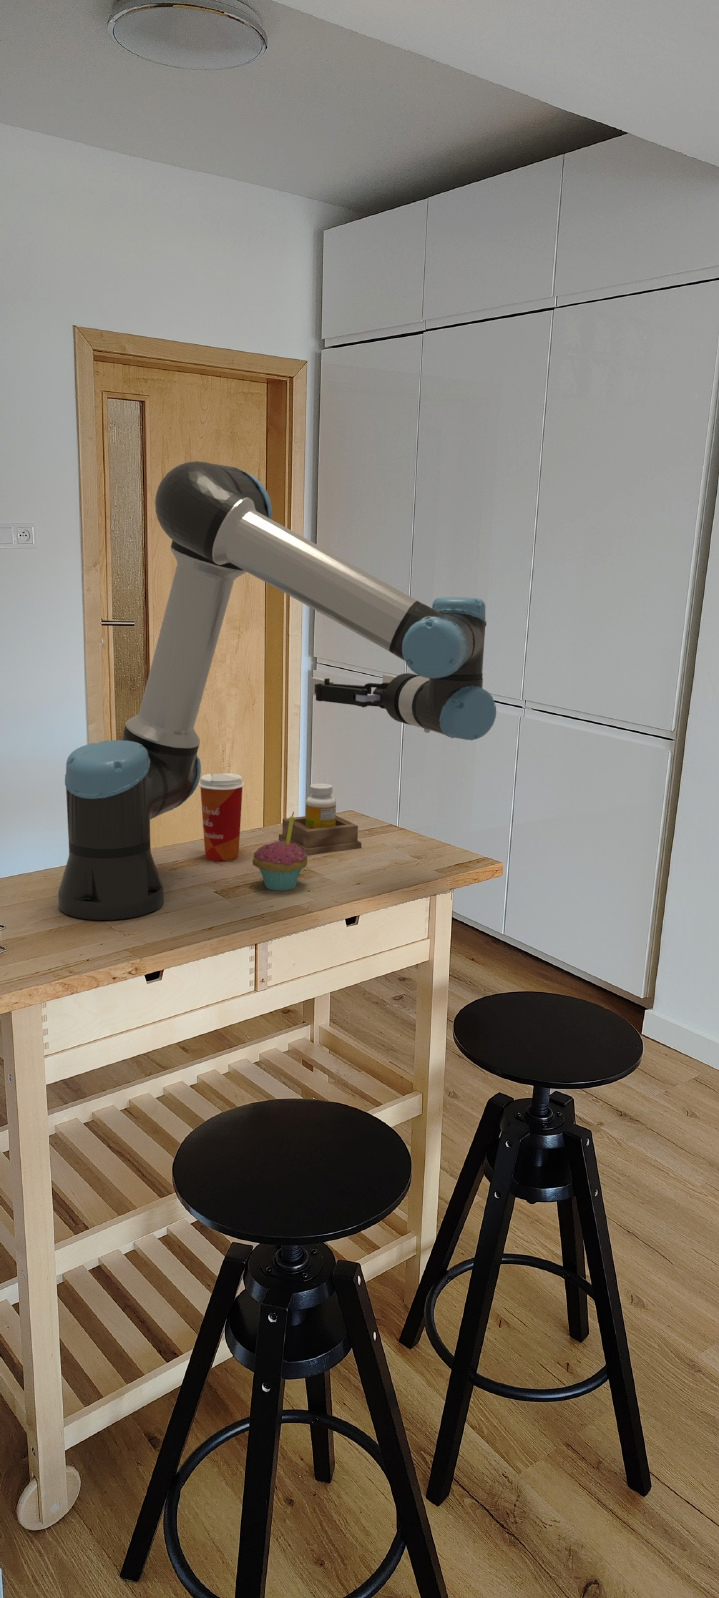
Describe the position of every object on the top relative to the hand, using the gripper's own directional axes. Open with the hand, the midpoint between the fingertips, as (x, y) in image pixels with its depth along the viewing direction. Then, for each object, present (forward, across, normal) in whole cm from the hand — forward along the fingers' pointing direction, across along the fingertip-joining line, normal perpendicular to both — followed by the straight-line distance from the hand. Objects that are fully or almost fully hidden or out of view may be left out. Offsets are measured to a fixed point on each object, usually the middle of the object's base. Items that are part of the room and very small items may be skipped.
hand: (349, 683), depth 179 cm
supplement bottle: (+10, 0, -29) cm, 31 cm away
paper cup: (+9, -19, -30) cm, 37 cm away
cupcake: (-10, -17, -30) cm, 36 cm away
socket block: (+10, 0, -30) cm, 32 cm away
